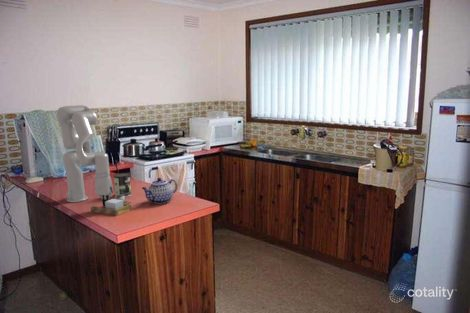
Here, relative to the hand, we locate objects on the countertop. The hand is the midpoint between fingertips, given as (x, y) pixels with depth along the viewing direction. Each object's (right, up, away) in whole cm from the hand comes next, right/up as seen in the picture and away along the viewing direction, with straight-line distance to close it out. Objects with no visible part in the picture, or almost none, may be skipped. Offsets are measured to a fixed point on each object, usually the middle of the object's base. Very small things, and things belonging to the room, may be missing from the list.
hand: (105, 205), depth 218 cm
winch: (+5, 0, +11) cm, 12 cm away
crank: (+6, +5, +13) cm, 16 cm away
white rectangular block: (+6, -3, -2) cm, 7 cm away
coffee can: (+2, +3, +29) cm, 29 cm away
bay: (+3, -3, -1) cm, 5 cm away
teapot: (+30, +1, +14) cm, 33 cm away
